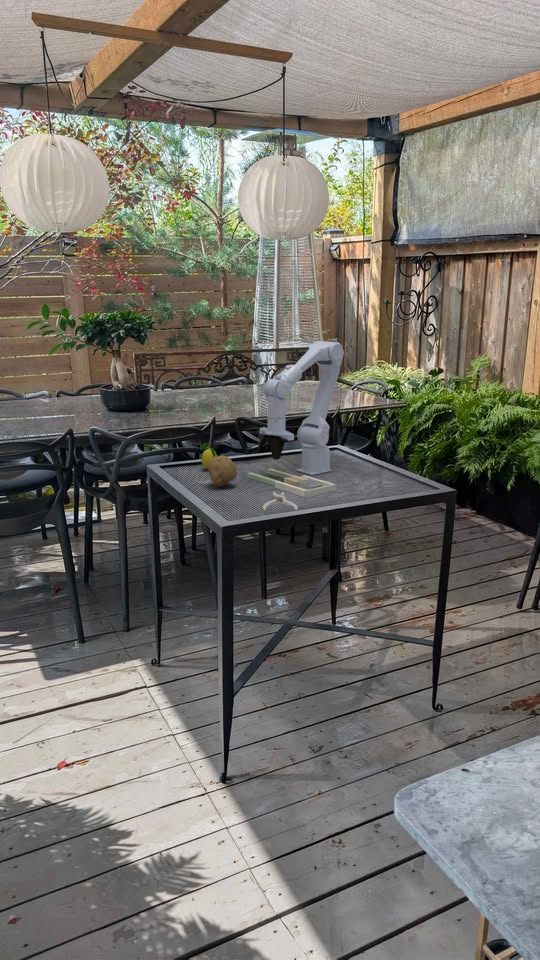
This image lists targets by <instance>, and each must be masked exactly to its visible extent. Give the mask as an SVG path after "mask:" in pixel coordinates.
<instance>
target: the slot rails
mask: <svg viewBox="0 0 540 960" xmlns="http://www.w3.org/2000/svg"><path fill="white" fill-rule="evenodd" d="M246 473H247V474H246V478H247V479H251V480H255V481H256V482H257V481H258V482H261V483H264V484H268V485H270V486H273V487H275V481H278V480H277V479H273V478H271V477H267V476H264V475H261V474H257V473H255V472H246ZM266 473H267V474H268V475H271V476H275V477H278V478H281V479H284V478H287V477H291V476H296V475H294V474H292V473H287V472H284V471H280V470H277V469H273V468H271V467H270V468H267V469H266Z"/></svg>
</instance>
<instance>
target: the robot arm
mask: <svg viewBox="0 0 540 960" xmlns="http://www.w3.org/2000/svg"><path fill="white" fill-rule="evenodd" d="M343 348H344V347H343V346H342V343H340V342H339V341H325V340H324V341H321V340H314V341H313V342H312V343H311V344H310V345H309V346H308V349H307V351H306V352H305V354H303V356H302V357H300V358H299V360H298V361H297V362H296V363H295V364H288V365H285V368H284V369H283V370H282V371H281V372H279V373H278V374H277V375H276V376H275V377H274V378H270V379H269V380H267V381H266V382H265V384H264V387H263V389H262V390H263V393H264V395H265V397H266V398H265V400H266V403H267V427H264V426H263V427H260V428H259V435H267V436H268V437H265V441H266V442H267V444H268V446H269V449H270V454H271V457H272V459H273V460H274V461H275V460H280V459H281V456H282V453H283V449H284V446H285V444H286V443H287V442H289V441H294V440H295V434H294V433H292V432H290V431H287V430H286V407H287V406H286V398H287V397H289V394H290V392H291V390H292V388H293V387H294V386H295V385H296V384H297V383H298V382H299V381H300V380H301V379H302V375H303V372H305V371H306V370H308V369H309V368H310V367H311V366H312V365H314V364H315V363H316V364H317V365H318V367H319V368H320V369H321V371H322V373H321V377H320V379H319V384H318V387H317V389H316V393H315V396H314V400H313V404H312V408H311V410H310V414H309V416H307V417H306V418H305V419H303V420H302V423H301V425H300V427H299V428H298V430H297V432H296V433H297V434H296V436H297V440H298V442H299V443H300V446H302V447H301V467H300V468H297V469H296V472H299V473H302V474H306V475H310V476H313V475H314V476H315V475H320V474H323V473H328V472H332V469H331V450H330V447H329V446H328V445H327V444H328V442H329V437H330V433H329V432H330V429H331V428H330V425H329V424H328V422H327V421H326V419H327V416H328V413H329V408H330V405H331V402H332V398H333V396H334V392H335V388H336V384H337V382H338V379H339V374H340V370H341V366H342V361H343V358H344V355H345V351H344V349H343Z"/></svg>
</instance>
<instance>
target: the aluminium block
mask: <svg viewBox="0 0 540 960" xmlns="http://www.w3.org/2000/svg"><path fill="white" fill-rule="evenodd" d="M322 486H323V483H321V482H318V481H314V480H311V479H308V480H304V481H299V482H298V487H299V488H302V489H306V490H309V489H314V488H318V487H322Z"/></svg>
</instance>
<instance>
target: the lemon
mask: <svg viewBox="0 0 540 960" xmlns="http://www.w3.org/2000/svg"><path fill="white" fill-rule="evenodd" d="M210 444H211V443H210V441H209V442H208V444H207V443H205V442H204V443H202V445H200V448H199V449H200V450H204V451H203V453H202V454H201V465H202V466H203V467H204V468H206V469H207V470H208V464H209V462H210V461H211V460H212V459H213V458H214V457H217V456H218V455H217V453H216V450H214V448H212V447H211V445H210Z"/></svg>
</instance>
